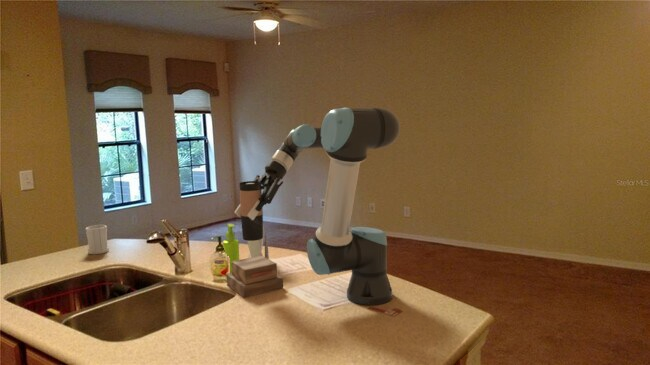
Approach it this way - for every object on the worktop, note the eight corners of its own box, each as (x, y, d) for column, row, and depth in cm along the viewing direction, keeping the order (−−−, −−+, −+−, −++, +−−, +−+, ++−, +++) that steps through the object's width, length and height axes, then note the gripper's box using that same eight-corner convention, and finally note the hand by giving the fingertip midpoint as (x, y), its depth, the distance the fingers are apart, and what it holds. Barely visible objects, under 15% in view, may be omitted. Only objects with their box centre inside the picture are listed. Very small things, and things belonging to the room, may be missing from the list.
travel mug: (266, 235, 169) (263, 180, 166) (261, 241, 162) (258, 183, 159) (245, 235, 170) (242, 181, 167) (239, 241, 162) (236, 184, 160)
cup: (80, 254, 215) (78, 228, 213) (93, 248, 224) (91, 224, 222) (101, 254, 213) (98, 229, 211) (113, 249, 222) (111, 224, 220)
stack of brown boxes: (283, 288, 166) (282, 263, 165) (244, 297, 158) (242, 272, 156) (264, 276, 178) (263, 253, 177) (227, 285, 170) (225, 261, 169)
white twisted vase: (251, 264, 193) (247, 198, 189) (244, 260, 200) (240, 195, 196) (269, 261, 197) (267, 196, 194) (262, 256, 204) (259, 193, 201)
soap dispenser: (227, 277, 178) (225, 226, 175) (223, 272, 184) (220, 223, 181) (242, 275, 181) (240, 224, 178) (237, 270, 187) (235, 221, 184)
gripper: (302, 174, 166) (267, 226, 157) (268, 170, 181) (234, 218, 172) (290, 160, 161) (253, 213, 153) (256, 158, 176) (221, 206, 167)
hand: (243, 216), depth 162 cm, fingers closed on travel mug, 7 cm apart
